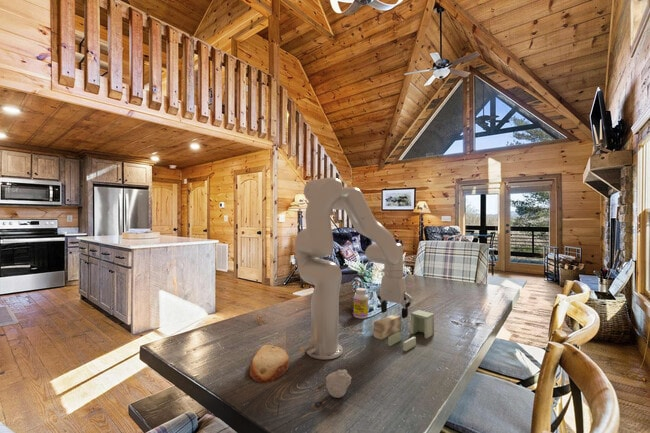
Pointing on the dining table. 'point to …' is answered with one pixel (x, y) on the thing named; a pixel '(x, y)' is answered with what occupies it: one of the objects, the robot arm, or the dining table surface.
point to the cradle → (406, 344)
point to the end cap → (422, 323)
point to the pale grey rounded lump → (338, 383)
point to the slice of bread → (269, 364)
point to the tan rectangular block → (387, 326)
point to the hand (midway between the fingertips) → (394, 314)
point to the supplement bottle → (361, 303)
